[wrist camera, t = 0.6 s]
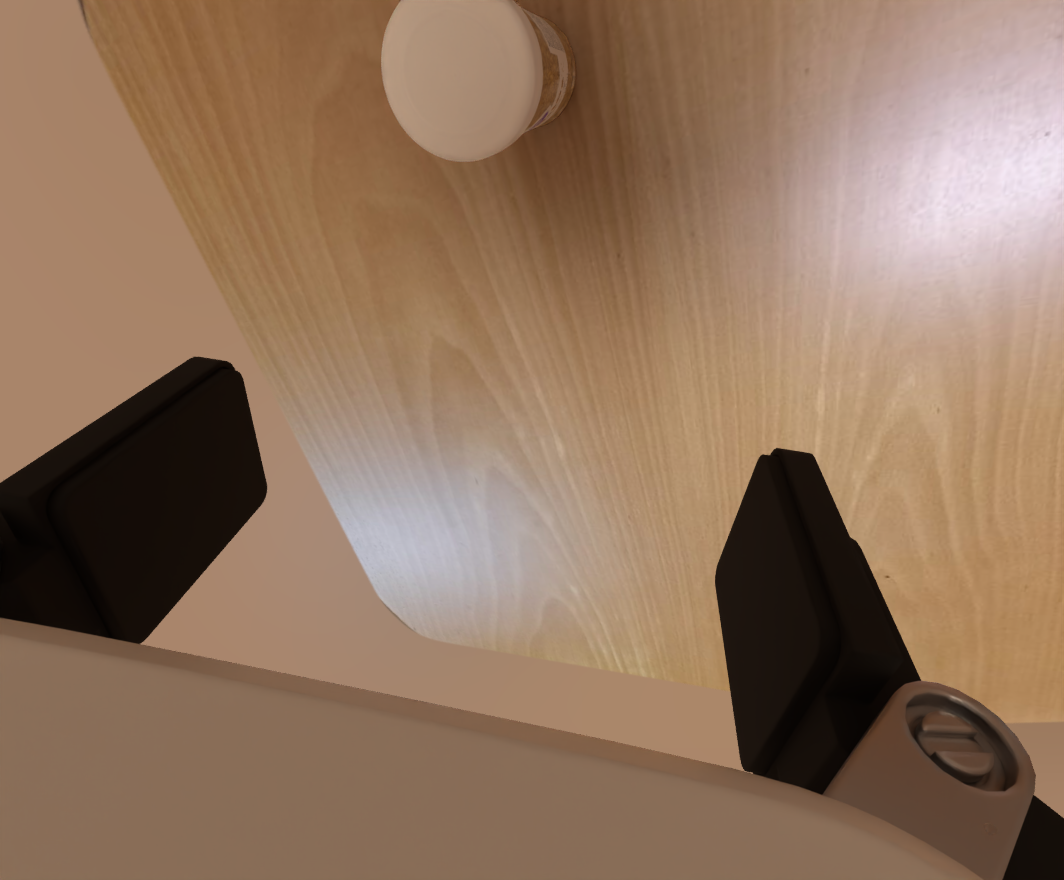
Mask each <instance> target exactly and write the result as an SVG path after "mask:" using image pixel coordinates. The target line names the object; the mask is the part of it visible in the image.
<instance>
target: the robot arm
mask: <svg viewBox="0 0 1064 880" xmlns="http://www.w3.org/2000/svg"><path fill="white" fill-rule="evenodd" d="M266 493H267V483H266V479H265V474H264V470H263V465H262V461H261V457H260V452H259V447H258V443H257V439H256V434H255V430H254V425H253V421H252V416H251V412H250V407H249V403H248V399H247V394H246V390H245V386H244V381H243V378H242V376H241V374H240V373H239V372H238V371H235V368H234V367H233V366H232V364H231V363H229V362H227V361H222V360H216V359H210V358H203V357H193V358H191V359H189V360H187V361H186V362H184V363H183V364H181V365H180V366H178V367H177V368H175V369H173V370H172V371H170V372H169V373H167V374H166V375H164V376H163V377H161V378H160V379H158V380H157V381H155V382H154V383H152V384H151V385H149V386H148V387H146V388H145V389H143V390H142V391H140V392H138V393H137V394H135V395H134V396H132V397H131V398H129V399H128V400H126V401H125V402H123V403H122V404H120V405H119V406H117V407H116V408H114V409H112V410H111V411H110V412H108V413H106V414H105V415H103V416H102V417H100V418H99V419H97V420H96V421H94V422H93V423H91V424H90V425H88V426H86V427H85V428H83V429H82V430H81V431H79V432H77V433H76V434H74V435H73V436H71V437H70V438H68V439H67V440H65V441H64V442H62V443H61V444H59V445H57V446H56V447H54V448H53V449H51V450H50V451H48V452H47V453H45V454H44V455H42V456H41V457H39V458H38V459H36V460H35V461H33V462H32V463H30V464H29V465H27V466H26V467H24V468H23V469H21V470H19V471H18V472H16V473H15V474H13V475H12V476H10V477H9V478H7V479H6V480H4V481H3V482H1V483H0V880H1064V818H1063V817H1061V816H1060V815H1059V814H1058V813H1056V812H1055V811H1054V810H1052V809H1051V808H1050V807H1049V806H1047V805H1046V804H1045V803H1043V802H1042V801H1041V800H1039V799H1038V798H1037V797H1036V796H1034V795H1033V794H1034V789H1035V777H1036V775H1035V772H1034V769H1033V766H1032V763H1031V760H1030V757H1029V755H1028V754H1027V752H1026V750H1025V749H1024V747H1023V746H1022V744H1021V743H1020V741H1019V739H1018V738H1017V736H1016V735H1015V734H1014V733H1013V732H1012V731H1011V730H1010V729H1009V728H1008V727H1007V726H1006V724H1005V723H1004V722H1003V721H1002V720H1001V719H1000V718H999V717H998V716H996V715H995V714H994V713H993V712H991V711H990V710H989V709H988V708H986V707H985V706H984V705H982V704H981V703H980V702H978V701H977V700H975V699H973V698H971V697H969V696H968V695H966V694H964V693H962V692H961V691H959V690H956V689H954V688H951V687H948V686H945V685H942V684H939V683H934V682H926V681H921V679H920V677H919V675H918V673H917V670H916V668H915V666H914V664H913V662H912V659H911V657H910V655H909V653H908V651H907V648H906V646H905V644H904V642H903V640H902V637H901V635H900V633H899V631H898V629H897V626H896V624H895V622H894V620H893V618H892V615H891V613H890V611H889V609H888V607H887V604H886V602H885V600H884V598H883V596H882V593H881V591H880V589H879V587H878V585H877V582H876V580H875V578H874V576H873V574H872V571H871V569H870V567H869V565H868V563H867V560H866V558H865V556H864V554H863V552H862V549H861V548H860V546H859V545H858V543H857V542H856V541H855V540H853V539H852V538H850V536H849V534H848V532H847V529H846V527H845V525H844V523H843V520H842V518H841V516H840V514H839V511H838V509H837V507H836V504H835V502H834V500H833V498H832V495H831V493H830V491H829V489H828V486H827V484H826V482H825V480H824V477H823V475H822V473H821V471H820V468H819V466H818V464H817V461H816V459H815V457H814V456H813V454H810V453H805V452H799V451H793V450H786V449H780V448H776V449H774V450H773V452H772V453H771V455H764V454H763V455H761V456H760V457H759V459H758V461H757V464H756V466H755V469H754V471H753V474H752V477H751V479H750V482H749V484H748V487H747V490H746V492H745V495H744V497H743V500H742V502H741V505H740V508H739V510H738V513H737V515H736V518H735V521H734V523H733V526H732V528H731V531H730V534H729V536H728V539H727V541H726V544H725V547H724V549H723V552H722V554H721V557H720V559H719V562H718V565H717V569H716V575H715V586H716V593H717V600H718V607H719V614H720V621H721V628H722V635H723V642H724V649H725V656H726V663H727V670H728V677H729V684H730V691H731V697H732V705H733V712H734V719H735V726H736V733H737V740H738V746H739V754H740V760H741V764H742V767H743V769H744V770H745V771H747V772H753V774H751V773H747V772H744V771H740V770H736V769H733V768H728V767H724V766H719V765H715V764H711V763H706V762H702V761H698V760H693V759H689V758H684V757H680V756H676V755H671V754H666V753H662V752H658V751H653V750H649V749H645V748H640V747H636V746H631V745H627V744H623V743H618V742H614V741H609V740H604V739H600V738H595V737H590V736H585V735H581V734H576V733H571V732H566V731H561V730H556V729H552V728H547V727H542V726H537V725H533V724H528V723H523V722H518V721H514V720H509V719H504V718H499V717H495V716H490V715H485V714H480V713H476V712H471V711H466V710H461V709H456V708H452V707H447V706H442V705H437V704H432V703H427V702H423V701H418V700H413V699H408V698H403V697H398V696H393V695H389V694H383V693H378V692H374V691H369V690H364V689H359V688H354V687H350V686H344V685H340V684H335V683H330V682H325V681H320V680H315V679H310V678H306V677H301V676H296V675H291V674H286V673H281V672H276V671H271V670H266V669H261V668H256V667H251V666H246V665H241V664H237V663H232V662H227V661H221V660H216V659H212V658H206V657H201V656H196V655H191V654H186V653H181V652H176V651H171V650H165V649H161V648H156V647H151V646H146V645H141V644H140V643H142V642H143V641H144V640H145V639H146V638H147V637H148V636H149V635H150V634H151V633H152V631H153V630H154V629H155V628H156V627H157V626H158V624H159V623H160V622H161V621H162V620H163V619H164V617H165V616H166V615H167V614H168V613H169V612H170V611H171V609H172V608H173V607H174V606H175V605H176V604H177V602H178V601H179V600H180V599H181V598H182V597H183V595H184V594H185V593H186V592H187V591H188V590H189V588H190V587H191V586H192V585H193V584H194V583H195V581H196V580H197V579H198V578H199V577H200V575H201V574H202V573H203V572H204V571H205V570H206V569H207V567H208V566H209V565H210V564H211V563H212V562H213V560H214V559H215V558H216V557H217V556H218V555H219V554H220V552H221V551H222V550H223V549H224V548H225V547H226V545H227V544H228V543H229V542H230V541H231V539H232V538H233V537H234V536H235V535H236V534H237V533H238V531H239V530H240V529H241V528H242V527H243V526H244V524H245V523H246V522H247V521H248V520H249V519H250V517H251V516H252V515H253V514H254V513H255V512H256V510H257V509H258V508H259V507H260V506H261V504H262V503H263V501H264V499H265V497H266Z"/></svg>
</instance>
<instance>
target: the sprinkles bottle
mask: <svg viewBox="0 0 1064 880" xmlns="http://www.w3.org/2000/svg"><path fill="white" fill-rule="evenodd" d="M381 70H382V78H383V84H384V89H385V92H386V95H387V99H388V102H389V104H390V106H391V109H392V111H393V113H394V115H395V117H396V118H397V120H398V122H399V123H400V125H401V126H402V128H403V129H404V130H405V132H406V133H407V134H408V135H409V136H410V137H411V138H412V139H413V140H414V141H415V142H416V143H417V144H418V145H420V146H421V147H422V148H423V149H425V150H426V151H428V152H430V153H432V154H434V155H436V156H438V157H441V158H443V159H446V160H450V161H456V162H472V161H478V160H482V159H485V158H487V157H490V156H492V155H495V154H497V153H499V152H501V151H502V150H504V149H505V148H507V147H508V146H510V145H511V144H513V143H514V142H515V141H516V140H517V139H518V138H519V137H520V136H521V135H522V134H523V133H525V132H527V131H529V130H532V129H534V128H536V127H540V126H543V125H546V124H548V123H550V122H551V121H552V120H553V119H555V118H556V117H558V116H559V115H560V113H561V112H562V111H563V110H564V108H565V107H566V105H567V103H568V102H569V100H570V97H571V95H572V92H573V89H574V85H575V78H576V65H575V60H574V55H573V51H572V49H571V46H570V44H569V42H568V39H567V37H566V36H565V34H564V33H563V32H562V31H560V30H559V28H558V27H557V26H556V25H555V24H554V23H552V22H551V21H549V20H547V19H546V18H543V17H539V16H537V15H535V14H533V13H531V12H529V11H527V10H525V9H523V8H522V7H520V6H519V5H518V4H517V3H516V2H515V1H514V0H401V1H400V2H399V4H398V5H397V7H396V8H395V10H394V12H393V14H392V16H391V18H390V20H389V22H388V25H387V28H386V31H385V35H384V39H383V45H382V54H381Z"/></svg>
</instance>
